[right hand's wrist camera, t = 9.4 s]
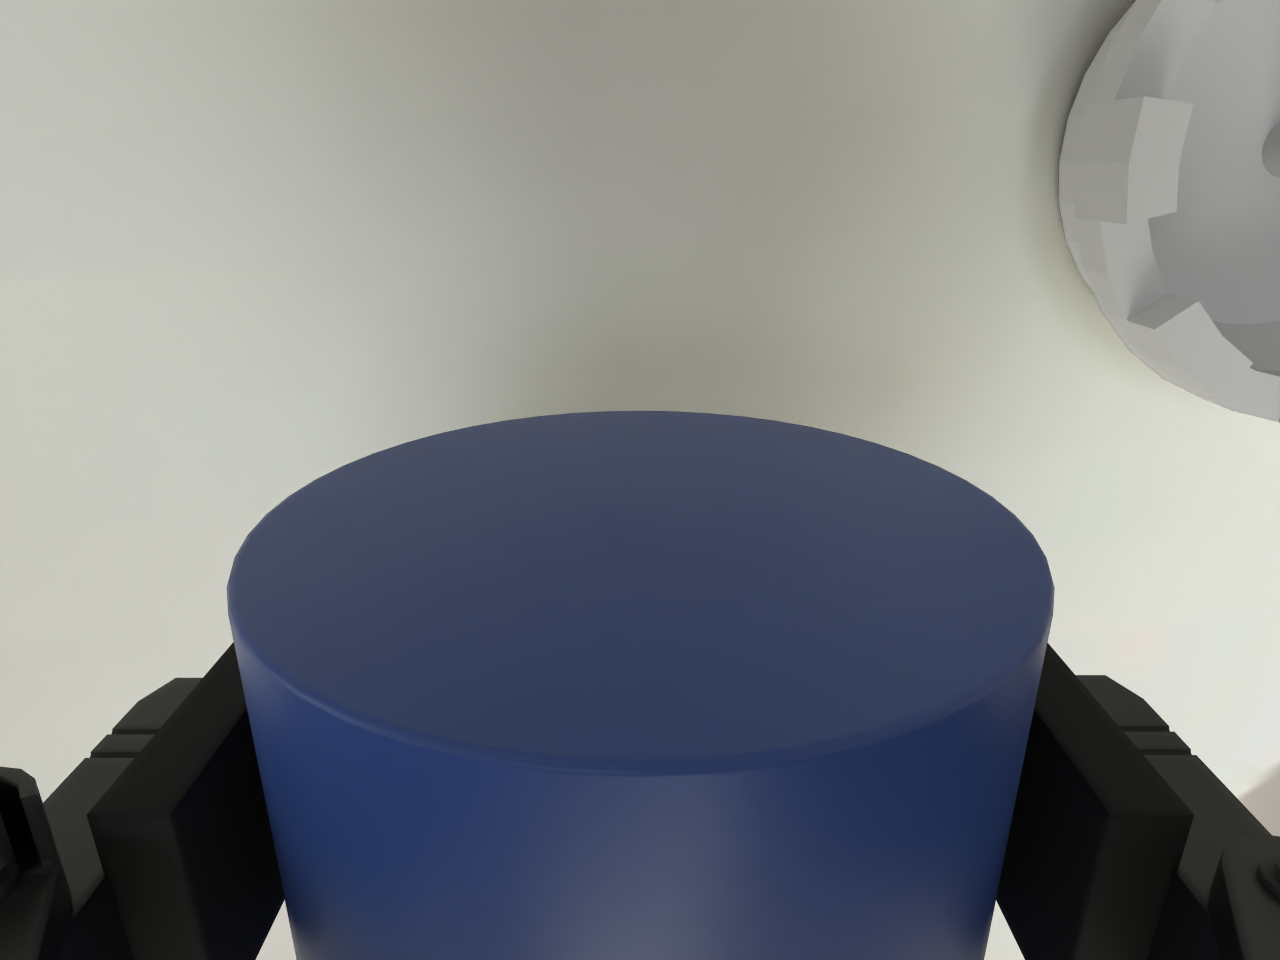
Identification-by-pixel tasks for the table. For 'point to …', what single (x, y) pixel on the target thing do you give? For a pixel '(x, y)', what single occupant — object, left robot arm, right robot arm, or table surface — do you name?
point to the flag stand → (1184, 194)
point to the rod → (640, 694)
